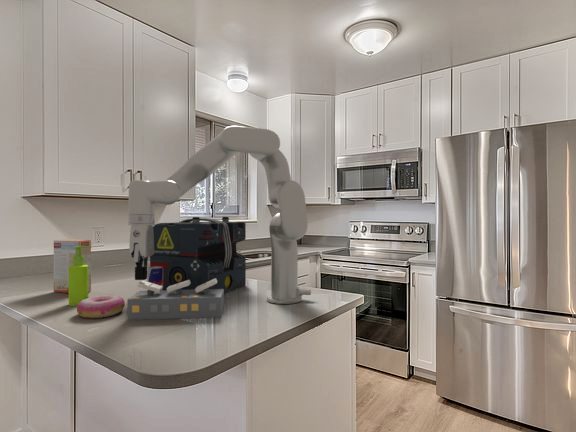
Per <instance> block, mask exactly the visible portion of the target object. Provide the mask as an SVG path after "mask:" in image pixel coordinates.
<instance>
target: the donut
mask: <svg viewBox="0 0 576 432" xmlns="http://www.w3.org/2000/svg"><path fill="white" fill-rule="evenodd" d="M125 306H126V302H125V299H124V298H123V297H121V296H120V295H115V294H113V295H112V294H110V295H109V294H106V295H104V294H103V295H96V296H90V297H88V298H87V299H84V300H82V301H81V302H80V303H79V304H78V306H76V312H77V314H78V316H81V317H82V318H85V319H102V318H103V317H104V318H109V317H111V316H115V315H117V314H119V313H120V312H121V311H123V310H124V308H125Z"/></svg>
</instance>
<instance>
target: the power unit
mask: <svg viewBox="0 0 576 432" xmlns="http://www.w3.org/2000/svg"><path fill="white" fill-rule="evenodd" d="M246 232H247V231H246V222H245V221H230V218H229V216H222V218H221V220H219V219H216V218H207V217H206V218H200V217H198V216H193V217H192V218H187V219H183V220H180V221H179V222H178V221H177V222H158V223H156V224H155V225H153V233H154V254H153V255H152V256H150V257H149V267H155V266H160V267H163V290H167V288H168V287H169V286H171V285H174V284H177V283H179V282H180V283H181V282H184V281H187V280H190V282H191V283H190V285H189V286H186V287H183V288H182V290H195V289H196V287H197V286H200V285H202V284H204V283H206V282H208V281H210V280H213V279H215V278H216V279H217V283H216V284H215V285H212V286H210V287H209V289H224V294H226V293H229V292H232V291H235V290H237V288H238V289H240V288H243V287H245V286H246V283H247V281H246V279H247V278H246V275H247V274H246V272H247V271H246V268H247V267H246V264H247V263H246V262H247V261H246V258H247V257H246V256H245V255H243V254H242V253H239V252H237V244H238V243H241V242H242V241H246V239H247V238H246ZM242 286H243V287H242Z"/></svg>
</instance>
